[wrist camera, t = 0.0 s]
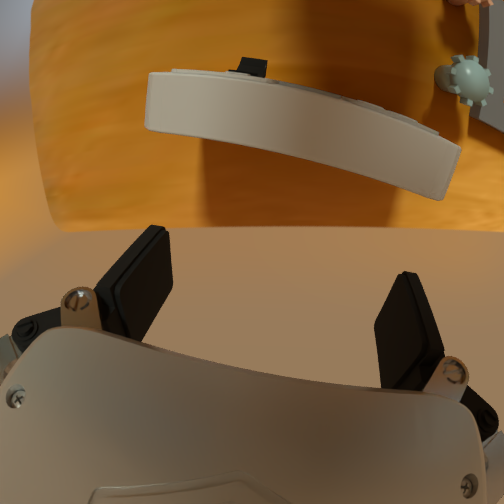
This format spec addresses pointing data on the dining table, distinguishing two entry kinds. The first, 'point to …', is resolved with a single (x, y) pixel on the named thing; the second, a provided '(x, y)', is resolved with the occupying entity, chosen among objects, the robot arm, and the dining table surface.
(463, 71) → the jaw gear
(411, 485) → the robot arm
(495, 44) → the housing
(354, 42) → the dining table surface
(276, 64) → the dining table surface
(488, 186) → the dining table surface
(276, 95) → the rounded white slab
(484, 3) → the jaw gear
